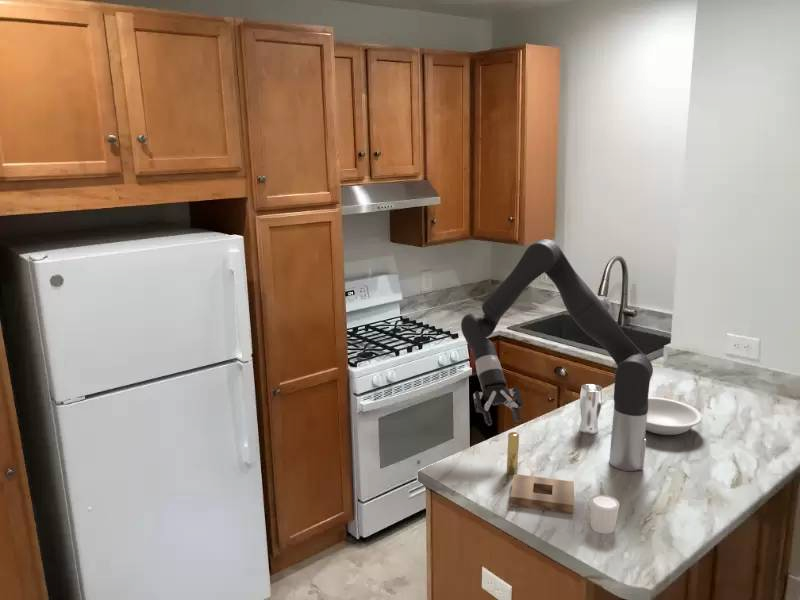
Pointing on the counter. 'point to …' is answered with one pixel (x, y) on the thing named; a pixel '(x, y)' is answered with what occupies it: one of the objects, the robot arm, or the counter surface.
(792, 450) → the counter surface
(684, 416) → the soup bowl
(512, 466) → the peg
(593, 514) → the shot glass
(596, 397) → the beer glass
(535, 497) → the block
